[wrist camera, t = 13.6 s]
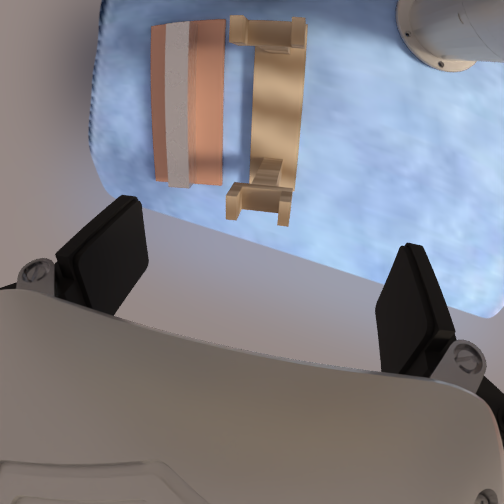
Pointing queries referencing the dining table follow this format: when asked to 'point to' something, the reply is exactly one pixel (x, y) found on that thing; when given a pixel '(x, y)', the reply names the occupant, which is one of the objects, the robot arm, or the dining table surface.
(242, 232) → the dining table surface
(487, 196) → the dining table surface
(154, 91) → the terracotta mat
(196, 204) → the dining table surface
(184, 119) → the steel bar
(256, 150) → the hook stand
